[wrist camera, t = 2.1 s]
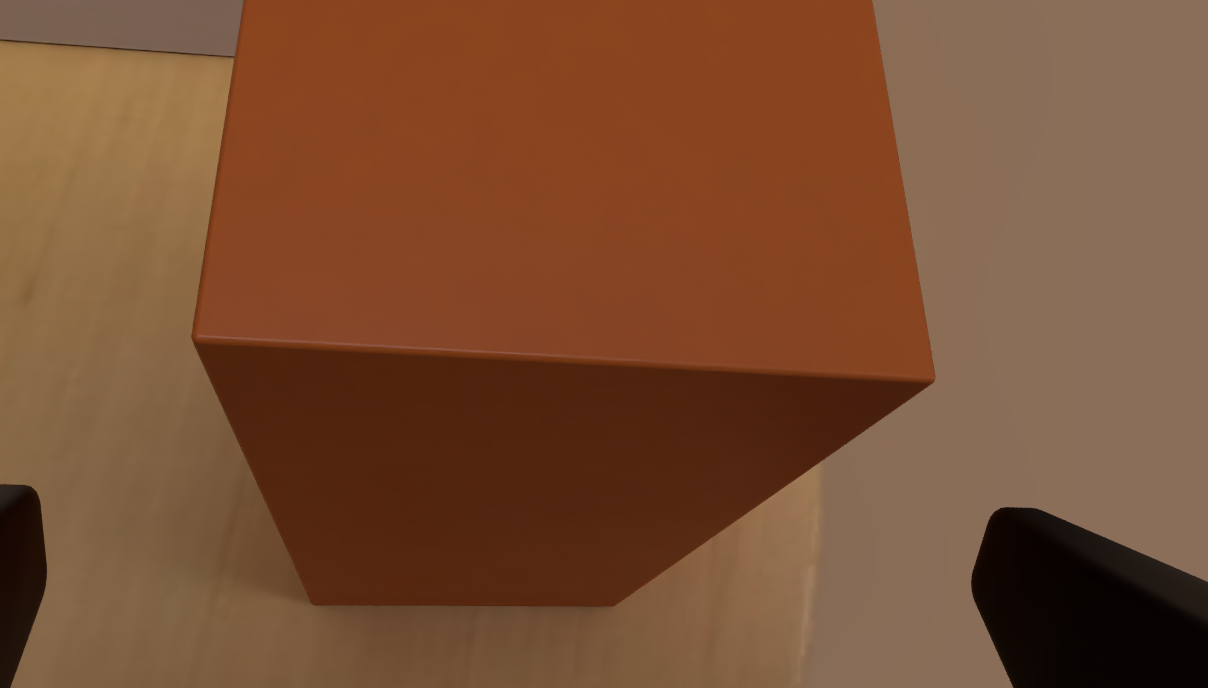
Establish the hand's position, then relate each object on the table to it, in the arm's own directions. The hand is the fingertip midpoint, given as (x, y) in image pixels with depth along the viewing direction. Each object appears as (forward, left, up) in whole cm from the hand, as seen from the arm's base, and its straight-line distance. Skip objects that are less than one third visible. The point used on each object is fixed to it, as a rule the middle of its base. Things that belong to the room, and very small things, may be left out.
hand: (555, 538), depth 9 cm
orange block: (+4, -1, -11) cm, 12 cm away
